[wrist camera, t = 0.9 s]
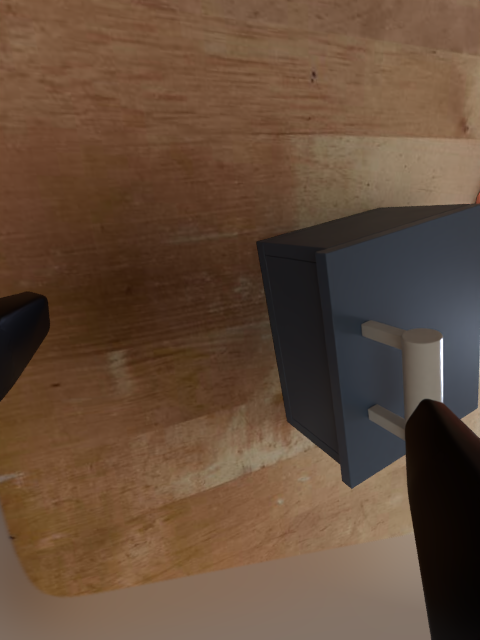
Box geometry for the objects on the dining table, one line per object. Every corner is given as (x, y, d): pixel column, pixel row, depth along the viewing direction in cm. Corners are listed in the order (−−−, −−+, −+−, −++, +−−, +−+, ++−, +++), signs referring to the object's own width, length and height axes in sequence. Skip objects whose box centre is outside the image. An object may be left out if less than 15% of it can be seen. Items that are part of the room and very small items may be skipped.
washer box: (286, 421, 28) (351, 474, 22) (255, 241, 24) (327, 248, 18) (388, 370, 32) (465, 403, 26) (379, 207, 28) (470, 203, 22)
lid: (341, 481, 22) (411, 541, 18) (314, 252, 17) (400, 261, 13) (466, 403, 26) (546, 437, 22) (471, 203, 22) (572, 199, 18)
